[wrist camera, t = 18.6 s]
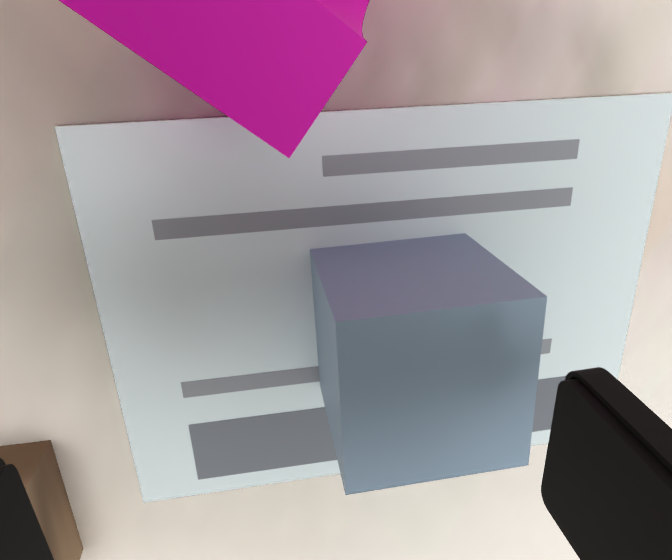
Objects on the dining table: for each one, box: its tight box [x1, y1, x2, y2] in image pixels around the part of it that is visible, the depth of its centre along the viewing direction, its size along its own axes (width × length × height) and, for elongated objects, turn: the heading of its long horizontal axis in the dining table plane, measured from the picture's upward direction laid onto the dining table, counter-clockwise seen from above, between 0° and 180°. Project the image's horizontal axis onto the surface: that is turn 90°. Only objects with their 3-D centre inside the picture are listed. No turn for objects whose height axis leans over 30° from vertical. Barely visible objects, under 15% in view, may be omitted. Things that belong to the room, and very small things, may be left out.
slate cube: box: [310, 233, 547, 495], centre depth 15 cm, size 5×5×5 cm
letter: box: [55, 93, 672, 503], centre depth 18 cm, size 13×18×1 cm
